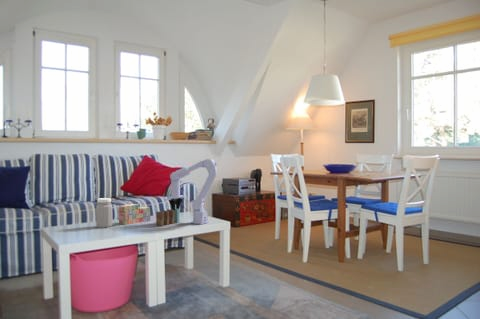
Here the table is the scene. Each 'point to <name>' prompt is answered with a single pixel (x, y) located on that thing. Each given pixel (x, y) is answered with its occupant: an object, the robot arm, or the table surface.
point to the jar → (104, 213)
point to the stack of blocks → (133, 214)
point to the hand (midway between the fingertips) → (175, 209)
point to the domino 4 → (176, 215)
